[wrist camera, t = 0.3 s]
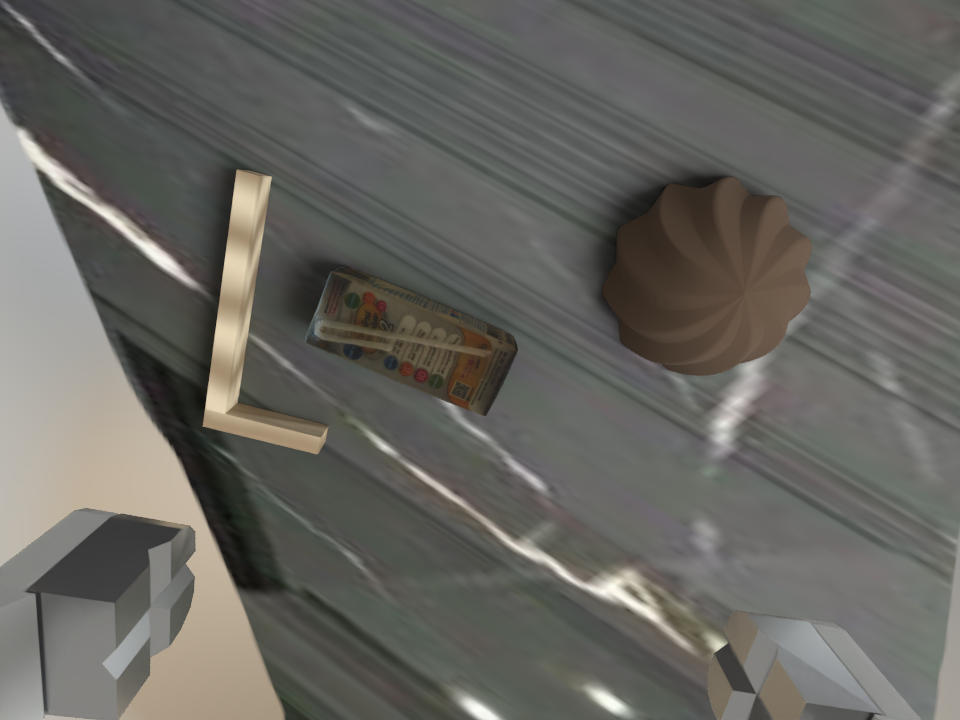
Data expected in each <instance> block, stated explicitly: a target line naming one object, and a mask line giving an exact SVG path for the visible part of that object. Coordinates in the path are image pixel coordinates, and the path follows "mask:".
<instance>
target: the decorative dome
mask: <svg viewBox="0 0 960 720" xmlns="http://www.w3.org/2000/svg"><path fill="white" fill-rule="evenodd" d="M811 251H812V243H811V241H810V239H809V238H808V237H806V236H805V235H803V234H801V233H800V232H798V231H797V230H796V229H794V228H793V227H791V226H790V223H789V219H788V213H787V207H786V203H785V201H784V200H783V199H782V198H781V197H779V196H752V195H751V194H750V193H749V192H748V191H747V190H746V189H745V188H744V186H743V185H742V184H741V183H740V182H739V180H738V179H736V178H735V177H724V178H722V179H720V180H718V181H717V182H715V183H713V184H711V185H708V186H706V187H704V188H696V187H690V186H683V185H677V184H668V185H667V186H666V188H665V189H664V190H663V192H662V193H661V195H660V196H659V197H658V199H657V200H656V202H655V203H654V205H653V206H652V207H651V209H650V210H649V211H648V212H647V213H646V214H644V215H642V216H640V217H638V218H636V219H634V220H632V221H631V222H629V223H627V224H625V225H623V226H621V227H620V228H619V230H618V232H617V259H616V263H615V265H614V267H613V269H612V270H611V272H610V274H609V276H608V277H607V279H606V281H605V283H604V284H603V286H602V293H603V295H604V297H605V299H606V301H607V303H608V304H609V306H610V308H611V309H612V310H613V312H614V313H615V314H616V315H617V316H618V317H619V328H620V339H621V342H622V343H623V344H624V345H625V346H626V347H628V348H629V349H630V350H632V351H633V352H635V353H636V354H638V355H639V356H641V357H643V358H645V359H647V360H650V361H653V362H656V363H659V364H662V365H663V366H664V367H665V368H666V369H668V370H670V371H674V372H677V373H681V374H687V375H696V376H704V375H713V374H718V373H721V372H724V371H727V370H729V369H731V368H733V367H734V366H736V365H738V364H739V363H744V362H748V361H752V360H754V359H757V358H760V357H762V356H764V355H766V354H767V353H769V352H771V351H772V350H773V349H774V348H775V347H776V346H777V345H778V344H779V343H780V342H781V341H782V339H783V338H784V336H785V333H786V330H787V326H788V323H789V321H790V320H792V319H793V318H794V317H796V316H797V315H798V314H799V313H800V312H801V311H802V310H803V309H804V307H805V306H806V304H807V303H808V301H809V298H810V293H811V292H810V287H809V284H808V281H807V279H806V276H805V273H804V270H805V267H806V265H807V262H808V260H809V257H810V255H811Z"/></svg>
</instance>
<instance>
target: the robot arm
mask: <svg viewBox="0 0 960 720" xmlns="http://www.w3.org/2000/svg"><path fill="white" fill-rule="evenodd" d="M194 552H195V531H194V530H193V529H192V528H191V527H190V526H188V525H183V524H177V523H171V522H166V521H160V520H154V519H148V518H143V517H137V516H132V515H126V514H117V513H113V512H106V511H100V510H95V509H89V508H85V509H80V510H75V511H73V512H72V513H70V514H69V515H68V516H66V517H65V518H64V519H62V520H61V521H60V522H59V523H57V524H56V525H55V526H53V527H52V528H51V529H49V530H48V531H47V532H45V533H44V534H43V535H42V536H40V537H39V538H38V539H36V540H35V541H34V542H32V543H31V544H30V545H28V546H27V547H26V548H25V549H23V550H22V551H21V552H19V553H18V554H17V555H16V556H14V557H13V558H11V559H10V560H9V561H8V562H6V563H5V564H4V565H2V566H1V567H0V720H43V719H44V714H45V715H55V716H65V717H76V718H86V719H96V720H119V719H120V717H121V715H122V714H123V713H124V711H125V710H126V708H127V707H128V706H129V704H130V703H131V701H132V700H133V698H134V697H135V696H136V694H137V692H138V691H139V690H140V688H141V687H142V686H143V684H144V682H145V681H146V679H147V678H148V677H149V675H150V657H152V656H154V655H156V654H157V653H159V652H161V651H163V650H164V649H166V648H168V647H169V646H170V645H171V643H172V642H173V640H174V639H175V637H176V636H177V634H178V633H179V631H180V630H181V628H182V625H183V623H184V621H185V619H186V616H187V614H188V612H189V609H190V606H191V602H192V597H193V593H194V578H195V576H194V575H193V574H192V572H191V571H190V569H189V568H188V567H187V565H186V564H185V563H186V562H187V561H188V560H189V558H190V557H191V556H192V554H193V553H194ZM723 631H724V634H725V636H726V639H727V641H728V644H727V645H725V646H724V647H722V648H721V649H720V650H718V651H717V652H715V653H714V655H713V658H712V661H711V664H710V667H709V670H708V693H709V698H710V702H711V706H712V709H713V711H714V713H715V716H716V718H717V720H921V719H920V718H919V716H918V715H917V714H916V713H915V712H914V711H913V709H912V708H911V707H910V706H909V705H908V704H907V702H906V701H905V700H904V699H903V698H902V697H901V695H900V694H899V693H898V692H897V691H896V690H895V688H894V687H893V686H892V685H891V684H890V683H889V681H888V680H887V679H886V678H885V677H884V676H883V674H882V673H881V672H880V671H879V670H878V669H877V667H876V666H875V665H874V664H873V663H872V662H871V660H870V659H869V658H868V657H867V656H866V655H865V653H864V652H863V651H862V650H861V649H860V648H859V646H858V645H857V644H856V643H855V642H854V640H853V639H852V638H851V637H850V636H849V635H848V633H847V632H846V631H845V630H844V629H842V628H841V627H839V626H837V625H836V624H834V623H832V622H824V621H816V620H808V619H793V618H786V617H780V616H773V615H766V614H759V613H753V612H746V611H739V610H736V611H735V612H734V613H733V614H732V615H731V616H729V618H728V620H727V623H726V625H725V627H724V630H723Z"/></svg>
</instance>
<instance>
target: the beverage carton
mask: <svg viewBox="0 0 960 720" xmlns="http://www.w3.org/2000/svg"><path fill="white" fill-rule="evenodd" d="M305 342H306V343H308V344H310V345H313V346H315V347H317V348H320V349H322V350H324V351H326V352H328V353H330V354H333V355H336V356H338V357H340V358H343V359H345V360H347V361H349V362H352V363H355V364H357V365H359V366H362V367H364V368H366V369H369V370H371V371H374V372H376V373H378V374H381V375H383V376H386V377H388V378H390V379H393V380H395V381H397V382H400V383H402V384H405V385H407V386H410V387H412V388H414V389H417V390H419V391H422V392H424V393H427V394H429V395H432V396H434V397H437V398H439V399H441V400H444V401H446V402H449V403H451V404H454V405H457V406H459V407H462V408H464V409H467V410H469V411H472V412H475V413H478V414H480V415H482V416H486V415H487V413H488V411H489V410H490V408H491V406H492V404H493V402H494V400H495V399H496V397H497V395H498V393H499V391H500V389H501V387H502V385H503V383H504V381H505V379H506V376H507V374H508V372H509V370H510V367H511V365H512V363H513V361H514V358H515V356H516V354H517V351H518V348H517V344H516V341H515V338H514V337H513V336H512V335H510V334H508V333H506V332H504V331H502V330H500V329H498V328H495V327H493V326H491V325H489V324H486V323H484V322H482V321H479V320H477V319H475V318H473V317H470V316H468V315H466V314H463V313H461V312H458V311H455V310H453V309H451V308H449V307H446V306H444V305H442V304H439V303H437V302H434V301H432V300H430V299H427V298H425V297H423V296H420V295H418V294H415V293H413V292H411V291H409V290H406V289H404V288H401V287H399V286H396V285H394V284H391V283H389V282H386V281H383V280H381V279H378V278H376V277H372V276H370V275H367V274H364V273H362V272H360V271H357V270H355V269H352V268H350V267H348V266H344V265H342V266H340V267H338V268H337V269H335V270H333V271H331V272H330V274H329V276H328V279H327V282H326V285H325V287H324V290H323V293H322V296H321V298H320V301H319V304H318V307H317V309H316V311H315V314H314V316H313V319H312V321H311V324H310V327H309V329H308V332H307V334H306V337H305Z"/></svg>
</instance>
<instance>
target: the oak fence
mask: <svg viewBox="0 0 960 720" xmlns="http://www.w3.org/2000/svg"><path fill="white" fill-rule="evenodd" d="M271 178H272V177H271V176H267V175H264V174H260V173H257V172H253V171H248V170H237V171H236V179H235V187H234V194H233V202H232V209H231V217H230V225H229V232H228V240H227V247H226V255H225V263H224V270H223V278H222V285H221V293H220V301H219V308H218V316H217V323H216V331H215V339H214V346H213V354H212V361H211V369H210V376H209V384H208V392H207V399H206V407H205V414H204V422H203V426H204V427H208V428H212V429H216V430H220V431H224V432H228V433H232V434H236V435H241V436H245V437H249V438H253V439H257V440H261V441H265V442H269V443H273V444H277V445H282V446H286V447H290V448H294V449H298V450H302V451H306V452H310V453H314V454H318V453H319V451H320V449H321V448H322V446H323V445H324V443H325V441H326V436H327V431H328V427H329V426H328V425H324V424H320V423H316V422H312V421H308V420H304V419H300V418H296V417H292V416H288V415H284V414H280V413H276V412H272V411H268V410H264V409H260V408H256V407H252V406H248V405H244V404H240V403H238V397H239V390H240V383H241V377H242V370H243V363H244V357H245V350H246V344H247V337H248V330H249V324H250V317H251V310H252V304H253V297H254V291H255V284H256V277H257V271H258V264H259V258H260V251H261V244H262V238H263V231H264V224H265V218H266V211H267V205H268V198H269V191H270V185H271Z"/></svg>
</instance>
